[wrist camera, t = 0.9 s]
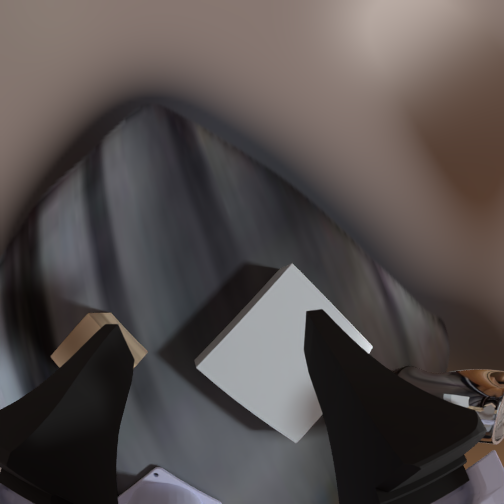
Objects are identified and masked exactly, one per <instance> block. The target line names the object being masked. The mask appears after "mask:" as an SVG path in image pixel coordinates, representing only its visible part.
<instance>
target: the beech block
mask: <svg viewBox="0 0 504 504" xmlns="http://www.w3.org/2000/svg"><path fill="white" fill-rule="evenodd" d="M105 324H118V325H119V327H120V329H121V331H122V334H123V336H124V338H125V340H126V343H127V345H128V347H129V349H130V351H131V353H132V355H133V357H134V359H135V361H134V367H135V366H136V365H137V364H138V363H139V362H140V361H141V359H142V358H143V357H144V356H145V355H146V354H147V352H148V351H147V350H146V349H145V348H144V347H143V346H142V345H141V344H140V343H139V342H138V341H137V340H136V339H135V338H134V337H133V336H132V335H131V334H130V333H129V332H128V331H127V330H126V329H125V328H124V327H123V326H122V324H121V323H120V322H119V321H118V320H117V319H116V318H115V317H114V316H113V315H112V313H88V314H87V315H86V316H85V317H84V318H83V319H82V320H81V322H80V323H79V324H78V325H77V326H76V327H75V328H74V330H73V331H72V332H71V333H70V334H69V335H68V336H67V338H66V339H65V340H64V341H63V342H62V343H61V345H60V346H59V347H58V348H57V349H56V351H55V352H54V353H53V354H52V355H51V358H52V359H53V360H54V362H55V363H56V364H57V365H58V366H59V368H60V367H61V366H62V365H63V364H64V363H65V362H67V361H68V360H69V359H70V358H71V357H72V356H73V355H74V354H75V353H76V352H77V351H78V350H79V349H80V348H81V347H82V346H83V345H84V344H85V343H86V342H87V341H88V340H89V339H90V338H91V337H92V336H93V335H94V334H95V333H96V332H97V331H98V330H99V329H100V328H101V327H103V326H104V325H105Z"/></svg>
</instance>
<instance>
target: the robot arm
mask: <svg viewBox="0 0 504 504" xmlns="http://www.w3.org/2000/svg"><path fill="white" fill-rule="evenodd" d="M304 354H305V359H306V364H307V368H308V373H309V376H310V379H311V381H312V384H313V387H314V390H315V393H316V396H317V399H318V402H319V405H320V408H321V411H322V413H323V416H324V419H325V423H326V426H327V431H328V435H329V440H330V445H331V450H332V456H333V461H334V467H335V473H336V480H337V487H338V496H339V504H504V468H503V466H502V464H501V461H500V460H499V457H498V455H497V453H496V451H495V450H493V451H491V452H490V453H489V454H488V455H486V456H485V457H484V458H482V459H481V460H479V461H478V462H476V463H475V464H473V465H472V466H471V467H469V468H468V469H466V470H465V468H464V466H463V465H464V464H465V463H466V462H467V460H466V458H465V456H464V454H465V453H466V452H467V451H469V450H470V449H471V448H472V447H473V446H475V444H477V443H478V442H479V441H480V440H481V439H482V438H483V437H484V436H485V434H486V431H487V430H486V428H485V426H484V424H483V422H482V421H481V419H480V417H479V415H478V414H477V412H476V411H475V410H472V409H469V408H466V407H463V406H460V405H457V404H454V403H451V402H448V401H446V400H443V399H441V398H439V397H436V396H434V395H432V394H430V393H428V392H426V391H424V390H422V389H420V388H418V387H416V386H415V385H413V384H411V383H409V382H407V381H406V380H404V379H402V378H401V377H399V376H398V375H396V374H395V373H393V372H392V371H390V370H389V369H388V368H386V367H385V366H383V365H382V364H381V363H380V362H378V361H377V360H376V359H375V358H373V357H372V356H371V355H370V354H368V353H367V352H366V351H365V350H364V349H363V348H362V347H360V346H359V345H358V344H357V343H356V342H355V341H354V340H353V339H352V338H351V337H350V336H349V335H348V334H347V333H346V332H345V331H344V330H343V329H342V328H341V327H340V326H339V325H338V324H337V323H336V322H335V321H334V320H333V319H332V318H331V317H330V316H329V315H328V314H327V313H326V312H325V311H324V310H323V309H318V310H311V311H306V323H305V337H304ZM134 361H135V359H134V357H133V355H132V353H131V351H130V349H129V347H128V345H127V343H126V340H125V338H124V336H123V334H122V331H121V329H120V327H119V325H118V324H105V325H104V326H103V327H101V328H100V329H99V330H98V331H97V332H96V333H95V334H94V335H93V336H92V337H91V338H90V339H89V340H88V341H87V342H86V343H85V344H84V345H83V346H82V347H81V348H80V349H79V350H78V351H77V352H76V353H75V354H74V355H73V356H72V357H71V358H70V359H69V360H68V361H67V362H65V363H64V364H63V365H62V366H61V367H60V368H59V369H58V370H57V371H56V372H55V373H54V374H53V375H51V376H50V377H49V378H48V379H47V380H45V381H44V382H43V383H42V384H40V385H39V386H38V387H37V388H35V389H34V390H32V391H31V392H29V393H28V394H26V395H25V396H23V397H22V398H20V399H19V400H17V401H16V402H14V403H12V404H10V405H8V406H7V407H5V408H3V409H1V410H0V467H1V468H2V469H1V472H0V504H118V503H119V504H222V503H221V502H220V501H218V500H216V499H214V498H212V497H211V496H209V495H207V494H205V493H203V492H201V491H199V490H197V489H196V488H194V487H192V486H190V485H189V484H187V483H185V482H184V481H182V480H180V479H179V478H177V477H175V476H174V475H172V474H171V473H169V472H168V471H166V470H165V469H163V468H161V467H155V468H154V469H153V470H152V471H150V472H149V473H148V474H147V475H145V476H144V477H143V478H142V479H140V480H139V481H138V482H137V483H135V484H134V485H133V486H131V487H130V488H129V489H128V490H126V491H125V492H124V493H122V494H121V495H120V496H117V482H116V459H117V444H118V434H119V429H120V424H121V420H122V416H123V412H124V408H125V404H126V401H127V397H128V393H129V389H130V386H131V382H132V376H133V369H134ZM154 473H157V474H158V475H155V474H154Z"/></svg>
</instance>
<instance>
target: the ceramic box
mask: <svg viewBox="0 0 504 504" xmlns="http://www.w3.org/2000/svg"><path fill="white" fill-rule="evenodd" d="M318 309H323V310H324V311H325V312H326V313H327V314H328V315H329V316H330V317H331V318H332V319H333V320H334V321H335V322H336V323H337V324H338V325H339V326H340V327H341V328H342V329H343V330H344V331H345V332H346V333H347V334H348V335H349V336H350V337H351V338H352V339H353V340H354V341H355V342H356V343H357V344H358V345H359V346H360V347H362V348H363V349H364V350H365V351H366V352H367V353H368V354H369V352H370V351H371V349H372V348H373V346H372V345H371V344H370V343H369V342H368V341H367V340H366V339H365V338H364V337H363V336H362V335H361V334H360V333H359V332H358V331H357V330H356V328H355V327H354V326H353V325H352V324H351V323H350V322H349V321H348V320H347V319H346V318H345V317H344V316H343V315H342V314H341V313H340V312H339V311H338V310H337V309H336V308H335V307H334V306H333V304H332V303H331V302H330V301H329V300H328V299H327V298H326V297H325V296H324V295H323V294H322V293H321V292H320V291H319V290H318V289H317V288H316V287H315V286H314V285H313V284H312V283H311V282H310V281H309V280H308V279H307V278H306V277H305V276H304V275H303V274H302V273H301V272H300V271H299V270H298V269H297V268H296V267H295V266H294V265H293V264H290V265H287V266H285V267H283V268H281V269H279V270H278V271H277V272H276V273H275V274H274V276H273V277H272V278H271V279H270V280H269V281H268V282H267V283H266V284H265V285H264V287H263V288H262V289H261V290H260V291H259V292H258V293H257V294H256V295H255V296H254V298H253V299H252V300H251V301H250V302H249V303H248V304H247V305H246V306H245V307H244V308H243V309H242V310H241V312H240V313H239V314H238V315H237V316H236V317H235V318H234V319H233V320H232V321H231V322H230V323H229V324H228V325H227V326H226V328H225V329H224V330H223V331H222V332H221V333H220V334H219V335H218V336H217V337H216V338H215V339H214V340H213V341H212V342H211V343H210V344H209V345H208V346H207V347H206V349H205V350H204V351H203V352H202V353H201V354H200V355H199V356H198V357H197V358H196V359H195V360H194V361H195V366H196V368H197V369H198V370H199V371H201V372H202V373H203V374H204V375H205V376H206V377H208V378H209V379H210V380H211V381H212V382H213V383H215V384H216V385H217V386H218V387H220V388H221V389H222V390H223V391H224V392H226V393H227V394H228V395H229V396H231V397H232V398H233V399H235V400H236V401H237V402H238V403H240V404H241V405H242V406H244V407H245V408H246V409H248V410H249V411H250V412H252V413H253V414H254V415H256V416H257V417H258V418H260V419H261V420H263V421H264V422H265V423H267V424H268V425H270V426H271V427H273V428H274V429H276V430H277V431H279V432H280V433H281V434H283V435H284V436H286V437H288V438H289V439H291V440H292V441H294V442H295V443H297V442H298V441H299V440H300V439H301V438H302V437H303V436H304V434H305V433H306V432H307V431H308V430H309V429H310V428H311V427H312V426H313V425H314V423H315V422H316V421H317V420H318V419H319V418H320V417H321V415H322V414H323V413H322V411H321V408H320V405H319V402H318V399H317V396H316V393H315V390H314V387H313V384H312V381H311V379H310V376H309V373H308V368H307V364H306V359H305V354H304V337H305V323H306V311H311V310H318Z"/></svg>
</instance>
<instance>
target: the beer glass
mask: <svg viewBox="0 0 504 504" xmlns="http://www.w3.org/2000/svg"><path fill="white" fill-rule="evenodd" d="M397 375H398V376H399V377H401V378H402V379H404V380H406V381H407V382H409V383H411V384H413V385H415V386H416V387H418V388H420V389H422V390H424V391H426V392H428V393H430V394H432V395H434V396H436V397H439V398H441V399H443V400H446V401H448V402H451V403H454V404H457V405H460V406H463V407H466V408H469V409H472V410H475V411H476V412H477V414H478V415H479V417H480V419H481V421H482V422H483V424H484V426H485V428H486V430H487V431H486V434H485V436H484V437H483V438H482V439H481V440H480V441H479V442H480V443H489V444H494V445H496V444H498V443H500V442H501V440H502V439H503V438H504V371H497V370H486V369H474V370H473V369H472V370H461V371H452V372H443V373H432V372H427V371H424V370H422V369H420V368H417V367H414V366H409V367H405V368H404V369H402V370H401V371H400V372H399V373H398V374H397Z"/></svg>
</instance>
